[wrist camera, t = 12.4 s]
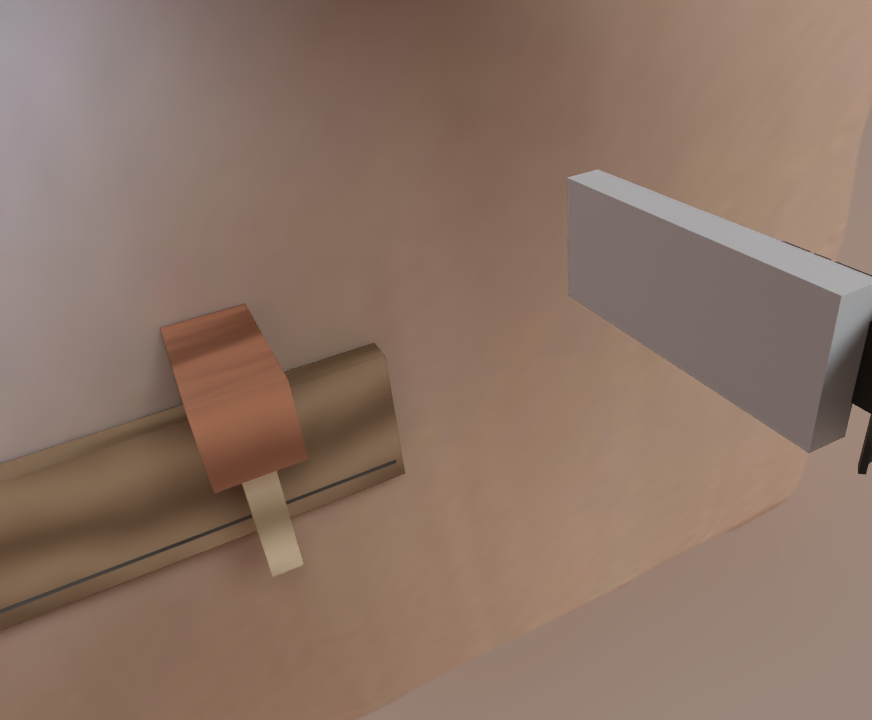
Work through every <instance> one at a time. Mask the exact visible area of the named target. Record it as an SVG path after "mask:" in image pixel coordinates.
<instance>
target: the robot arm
mask: <svg viewBox="0 0 872 720" xmlns="http://www.w3.org/2000/svg"><path fill="white" fill-rule="evenodd" d="M567 208H568V284H569V296H570V297H572V298H573V299H575V300H576V301H578V302H579V303H581V304H582V305H584V306H585V307H587V308H588V309H590V310H591V311H593V312H594V313H596V314H598V315H599V316H601V317H602V318H604V319H605V320H607V321H608V322H610V323H611V324H613V325H614V326H616V327H617V328H619V329H620V330H622V331H623V332H625V333H627V334H628V335H630V336H631V337H633V338H634V339H636V340H637V341H639V342H640V343H642V344H643V345H645V346H646V347H648V348H649V349H651V350H652V351H654V352H655V353H657V354H659V355H660V356H662V357H663V358H665V359H666V360H668V361H669V362H671V363H672V364H674V365H675V366H677V367H678V368H680V369H681V370H683V371H684V372H686V373H688V374H689V375H691V376H692V377H694V378H695V379H697V380H698V381H700V382H701V383H703V384H704V385H706V386H707V387H709V388H710V389H712V390H713V391H715V392H716V393H718V394H720V395H721V396H723V397H724V398H726V399H727V400H729V401H730V402H732V403H733V404H735V405H736V406H738V407H739V408H741V409H742V410H744V411H745V412H747V413H749V414H750V415H752V416H753V417H755V418H756V419H758V420H759V421H761V422H762V423H764V424H765V425H767V426H768V427H770V428H771V429H773V430H774V431H776V432H777V433H779V434H781V435H782V436H784V437H785V438H787V439H788V440H790V441H791V442H793V443H794V444H796V445H797V446H799V447H800V448H802V449H803V450H805V451H806V452H808V453H810V452H812V451H815V450H817V449H819V448H821V447H823V446H825V445H828V444H830V443H832V442H834V441H836V440H838V439H840V438H843V437H845V433H846V429H847V425H848V420H849V416H850V412H851V408H852V404H855V405H856V406H858V407H860V408H862V409H863V410H865V411H867V412H869V413H871V416H870V420H869V425H868V428H867V432H866V436H865V440H864V444H863V448H862V452H861V456H860V460H859V463H858V474H866V471H867V468H868V464H869V463H870V462H872V275H869V274H867V273H864V272H861V271H859V270H856V269H854V268H851V267H849V266H846V265H843V264H841V263H838V262H833V261H831V259H828V258H826V257H823V256H820V255H818V254H813V253H810V251H808V250H805V249H803V248H800V247H797V246H795V245H792V244H790V243H787V242H784V241H779V240H777V239H774V238H772V237H769V236H767V235H764V234H761V233H759V232H756V231H754V230H751V229H749V228H746V227H744V226H741V225H738V224H736V223H733V222H731V221H728V220H726V219H723V218H721V217H718V216H715V215H713V214H710V213H708V212H705V211H703V210H700V209H698V208H695V207H693V206H690V205H687V204H685V203H682V202H680V201H677V200H675V199H672V198H670V197H667V196H664V195H662V194H659V193H657V192H654V191H652V190H649V189H647V188H644V187H641V186H639V185H636V184H634V183H631V182H629V181H626V180H624V179H621V178H618V177H616V176H613V175H611V174H608V173H606V172H603V171H601V170H598V169H597V170H594V171H590V172H586V173H583V174H579V175H575V176H572V177H568V178H567Z"/></svg>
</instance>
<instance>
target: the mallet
mask: <svg viewBox="0 0 872 720" xmlns="http://www.w3.org/2000/svg"><path fill="white" fill-rule="evenodd" d="M160 329H161V332H162V335H163V339H164V342H165V345H166V349H167V352H168V355H169V359H170V362H171V365H172V369H173V372H174V375H175V379H176V382H177V385H178V389H179V392H180V395H181V398H182V402H183V405H184V408H185V412H186V415H187V418H188V421H189V423H190V426H191V429H192V432H193V435H194V437H195V440H196V443H197V446H198V449H199V452H200V454H201V457H202V460H203V463H204V466H205V468H206V471H207V474H208V477H209V480H210V482H211V485H212V488H213V491H214V493H217V492H220V491H223V490H225V489H228V488H231V487H233V486H236V485H239V484H242V487H243V490H244V493H245V496H246V499H247V502H248V505H249V508H250V511H251V514H252V517H253V521H254V524H255V527H256V530H257V533H258V536H259V539H260V542H261V545H262V548H263V551H264V554H265V557H266V560H267V563H268V566H269V568H270V571H271V574H272V577H275V576H278V575H280V574H282V573H285V572H287V571H290V570H292V569H295V568H297V567H299V566H302V565H304V564H303V560H302V557H301V553H300V550H299V546H298V543H297V540H296V536H295V533H294V529H293V526H292V522H291V519H290V515H289V512H288V508H287V505H286V502H285V498H284V495H283V491H282V488H281V484H280V481H279V477H278V474H277V470H280V469H283V468H286V467H288V466H291V465H294V464H297V463H299V462H302V461H305V460H308V455H307V451H306V447H305V443H304V439H303V436H302V432H301V428H300V424H299V420H298V416H297V412H296V408H295V404H294V400H293V397H292V393H291V389H290V385H289V381H288V379H287V377H286V375H285V374H284V372H283V370H282V368H281V367H280V365H279V363H278V361H277V360H276V358H275V356H274V354H273V352H272V351H271V349H270V347H269V345H268V344H267V342H266V340H265V338H264V337H263V335H262V333H261V331H260V329H259V328H258V326H257V324H256V322H255V321H254V319H253V317H252V315H251V314H250V312H249V310H248V308H247V306H246V305H245V304H242V305H239V306H235V307H232V308H228V309H225V310H221V311H218V312H214V313H211V314H207V315H204V316H200V317H197V318H193V319H190V320H186V321H183V322H179V323H176V324H172V325H169V326H165V327H162V328H160Z"/></svg>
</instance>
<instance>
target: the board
mask: <svg viewBox="0 0 872 720" xmlns="http://www.w3.org/2000/svg"><path fill="white" fill-rule="evenodd" d="M284 374H285V375H286V377H287V379H288V381H289V385H290V389H291V393H292V397H293V400H294V404H295V408H296V412H297V416H298V420H299V424H300V428H301V432H302V436H303V439H304V443H305V447H306V451H307V455H308V460H305V461H302V462H299V463H297V464H294V465H291V466H288V467H286V468H283V469H280V470H277V474H278V477H279V481H280V484H281V488H282V491H283V495H284V498H285V502H286V505H287V508H288V512H289V515H290V518H292V517H294V516H297V515H299V514H302V513H304V512H307V511H310V510H312V509H315V508H317V507H320V506H322V505H325V504H328V503H330V502H333V501H335V500H338V499H341V498H343V497H346V496H348V495H351V494H353V493H356V492H359V491H361V490H364V489H366V488H369V487H372V486H374V485H377V484H379V483H382V482H384V481H387V480H390V479H392V478H395V477H397V476H400V475H402V474H405V470H404V464H403V458H402V452H401V446H400V440H399V435H398V429H397V423H396V417H395V411H394V405H393V399H392V393H391V387H390V382H389V376H388V370H387V364H386V358H385V355H384V354H383V353H382V352H381V350H380V349H379V348H378V347H377V346H376V344H375V343H373V344H369V345H366V346H363V347H360V348H357V349H354V350H351V351H348V352H345V353H342V354H338V355H335V356H332V357H329V358H326V359H323V360H320V361H317V362H314V363H311V364H307V365H304V366H301V367H298V368H295V369H292V370H289V371H286V372H284ZM255 531H257V530H256V527H255V524H254V521H253V517H252V514H251V511H250V508H249V505H248V502H247V499H246V496H245V493H244V490H243V487H242V484H239V485H236V486H233V487H231V488H228V489H225V490H223V491H220V492H217V493H214V491H213V488H212V485H211V482H210V480H209V477H208V474H207V471H206V468H205V466H204V463H203V460H202V457H201V454H200V452H199V449H198V446H197V443H196V440H195V437H194V435H193V432H192V429H191V426H190V423H189V421H188V418H187V415H186V412H185V408H184V405H180V406H177V407H174V408H171V409H168V410H165V411H162V412H159V413H156V414H152V415H149V416H146V417H143V418H140V419H137V420H134V421H131V422H128V423H125V424H121V425H118V426H115V427H112V428H109V429H106V430H103V431H100V432H97V433H94V434H91V435H87V436H84V437H81V438H78V439H75V440H72V441H69V442H66V443H63V444H60V445H56V446H53V447H50V448H47V449H44V450H41V451H38V452H35V453H32V454H29V455H25V456H22V457H19V458H16V459H13V460H10V461H7V462H4V463H1V464H0V630H3V629H5V628H8V627H10V626H13V625H15V624H18V623H21V622H23V621H26V620H28V619H31V618H33V617H36V616H39V615H41V614H44V613H46V612H49V611H52V610H54V609H57V608H59V607H62V606H64V605H67V604H70V603H72V602H75V601H77V600H80V599H83V598H85V597H88V596H90V595H93V594H95V593H98V592H101V591H103V590H106V589H108V588H111V587H113V586H116V585H119V584H121V583H124V582H126V581H129V580H132V579H134V578H137V577H139V576H142V575H144V574H147V573H150V572H152V571H155V570H157V569H160V568H162V567H165V566H168V565H170V564H173V563H175V562H178V561H181V560H183V559H186V558H188V557H191V556H193V555H196V554H199V553H201V552H204V551H206V550H209V549H212V548H214V547H217V546H219V545H222V544H224V543H227V542H230V541H232V540H235V539H237V538H240V537H242V536H245V535H248V534H250V533H253V532H255Z"/></svg>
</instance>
